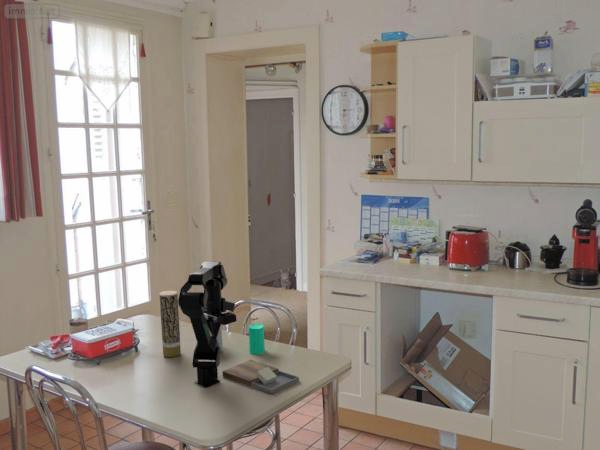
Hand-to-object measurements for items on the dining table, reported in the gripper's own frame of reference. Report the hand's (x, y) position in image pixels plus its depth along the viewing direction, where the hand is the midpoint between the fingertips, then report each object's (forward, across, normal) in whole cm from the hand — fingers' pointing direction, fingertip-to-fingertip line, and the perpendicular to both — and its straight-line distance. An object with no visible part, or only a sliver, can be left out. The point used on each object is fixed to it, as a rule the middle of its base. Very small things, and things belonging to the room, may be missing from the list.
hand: (215, 337), depth 228 cm
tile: (+11, -22, -4) cm, 25 cm away
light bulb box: (+12, +18, -12) cm, 25 cm away
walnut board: (+12, -14, -4) cm, 19 cm away
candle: (+12, +2, -22) cm, 25 cm away
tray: (+12, -26, -5) cm, 29 cm away
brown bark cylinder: (+12, +25, +3) cm, 28 cm away
